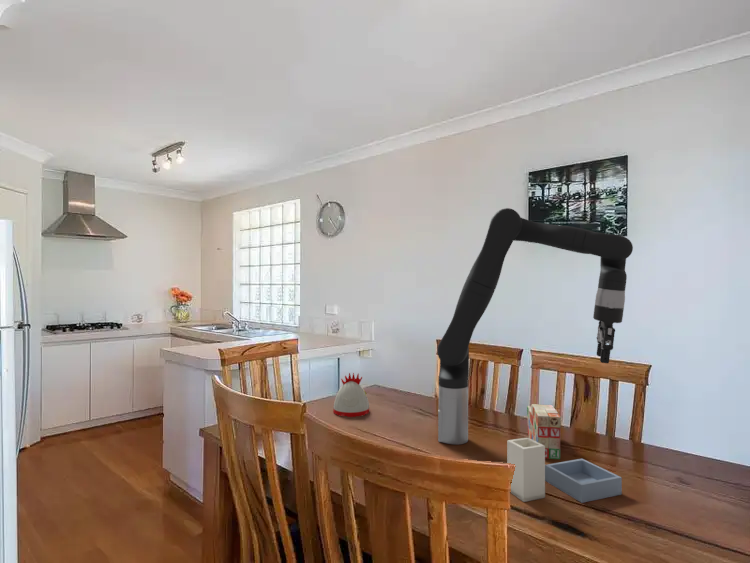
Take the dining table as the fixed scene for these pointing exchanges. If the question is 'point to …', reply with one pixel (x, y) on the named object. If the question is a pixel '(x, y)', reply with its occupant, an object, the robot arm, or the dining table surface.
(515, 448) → the cream caddy
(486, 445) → the dining table surface
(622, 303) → the robot arm
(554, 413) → the stack of blocks
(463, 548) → the dining table surface
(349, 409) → the kitchen timer
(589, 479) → the slate crate
